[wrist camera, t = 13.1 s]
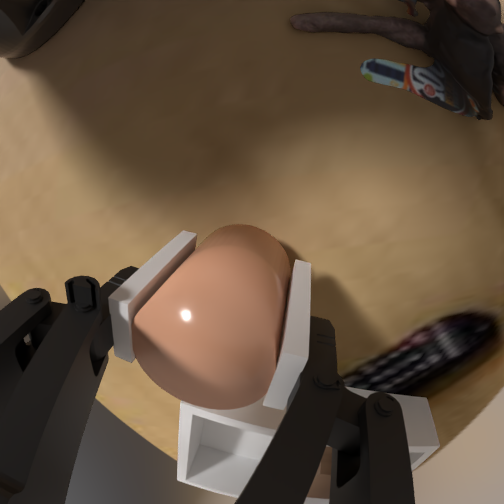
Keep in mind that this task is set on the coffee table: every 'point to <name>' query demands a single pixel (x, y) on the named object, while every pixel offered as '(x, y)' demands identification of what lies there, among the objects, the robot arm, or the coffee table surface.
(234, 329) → the round-ended peach cylinder
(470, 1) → the dark brown branched piece
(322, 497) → the walnut cube
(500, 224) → the coffee table surface
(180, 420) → the tote
